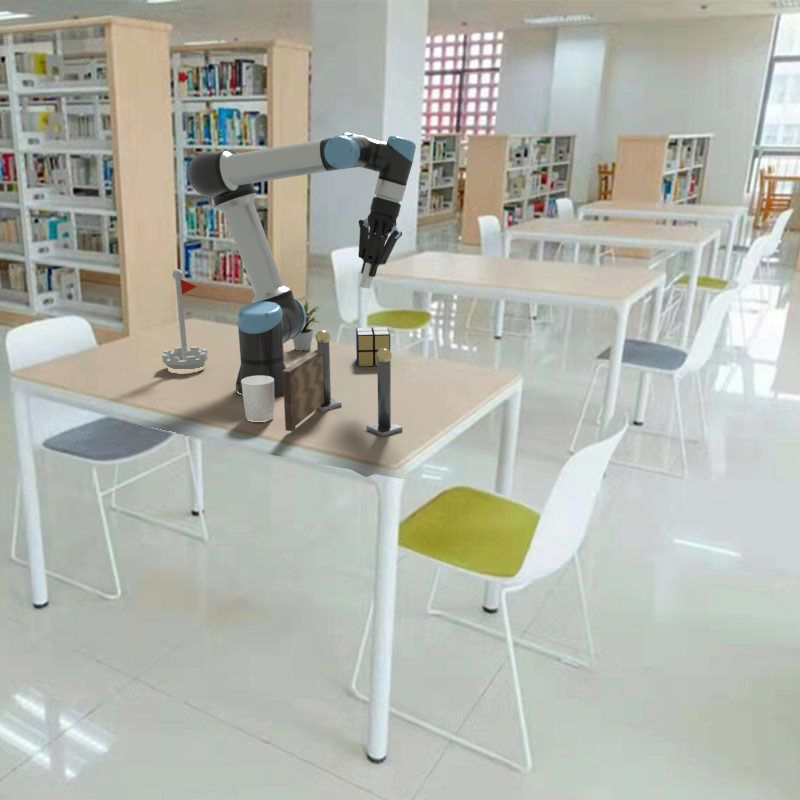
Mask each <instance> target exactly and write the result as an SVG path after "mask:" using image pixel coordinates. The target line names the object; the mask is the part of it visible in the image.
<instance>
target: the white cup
mask: <svg viewBox="0 0 800 800" xmlns="http://www.w3.org/2000/svg"><path fill="white" fill-rule="evenodd" d="M241 384H242V392H243V396H242V400H243V406H244V412H245V419H246V418H247V419H249V420H253V421H265V420H270V419H272V418H273V417H275V414H274V413H275V412H274V411H275V409H274V408H275V397H274V378H273V377H270V376H263V375H258V376H250V377H246V378H244V379H242V380H241ZM273 419H274V418H273ZM273 419H272V420H273Z"/></svg>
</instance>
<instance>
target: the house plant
mask: <svg viewBox="0 0 800 800" xmlns="http://www.w3.org/2000/svg"><path fill="white" fill-rule="evenodd" d="M309 305H310V303H309V302H308V300H305V303H304V305H303V307H304V309H305V312H306V323H305V326H304V328H303V329H302V331H301V332H300V333H299V334H298V335H297V336H296V337H295V338H293V339H292V342H293V346H294V350H295V349H296V350H295V351H297V350H300V351H299V352H303V351H302V350H308V351H310V350H311V349H312V343H313V342H312V341H313V332H314V330H313V329H311V328H310V327H311V326H312V325H313V324H314V323H318V324H319V325H321V324H320V322H319V321H320V320H318V319H316V318H318V315H316V316H314V317H311V316H312V315H313V314H314V313H316V312H318V311H320V310H318V309H321V308H322V307H321V306H322V304H320V305H317V306H315V307H313V308H312V309H311V310H310V311H309ZM308 311H309V312H308ZM312 322H313V323H312ZM309 349H310V350H309Z"/></svg>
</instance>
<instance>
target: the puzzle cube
mask: <svg viewBox="0 0 800 800" xmlns="http://www.w3.org/2000/svg"><path fill="white" fill-rule="evenodd" d="M355 341H356V343H355V344H356V345H355V347H356V362H357V363H356V364H357V367H359V368H360V367H361V368H363V367H374V366H375V367H378V362H377V358H376V354H377V352H378V351H379V350H380V349H382V348H386V349H388V350H389V351H390V352H391V333H390V330H389V328H388V326H386V327H385V326H384V327H382V326H380V327H379V326H378V327H356V329H355Z"/></svg>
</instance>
